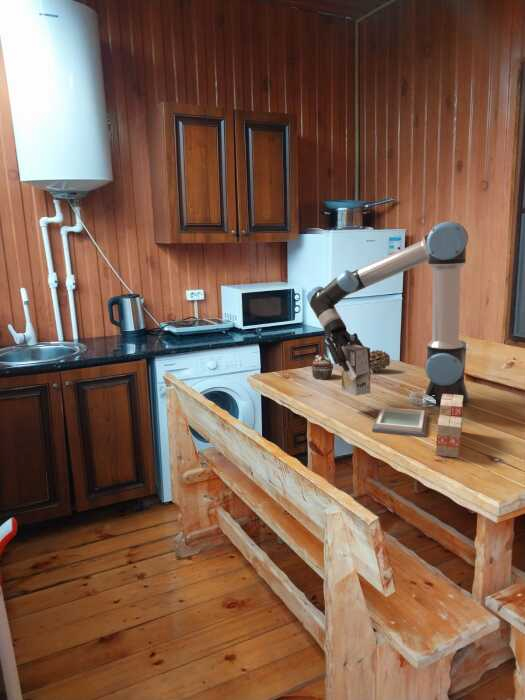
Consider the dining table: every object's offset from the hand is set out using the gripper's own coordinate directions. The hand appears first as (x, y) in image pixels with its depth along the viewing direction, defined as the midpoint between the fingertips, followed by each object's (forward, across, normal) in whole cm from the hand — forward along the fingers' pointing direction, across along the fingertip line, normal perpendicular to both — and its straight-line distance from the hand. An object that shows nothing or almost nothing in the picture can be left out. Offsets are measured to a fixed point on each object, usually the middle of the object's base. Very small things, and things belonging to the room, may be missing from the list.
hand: (362, 376), depth 180 cm
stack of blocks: (+34, -5, +14) cm, 37 cm away
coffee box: (+2, 0, -7) cm, 7 cm away
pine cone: (-20, -40, -40) cm, 60 cm away
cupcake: (-24, -18, -43) cm, 52 cm away
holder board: (+20, -4, 0) cm, 20 cm away
